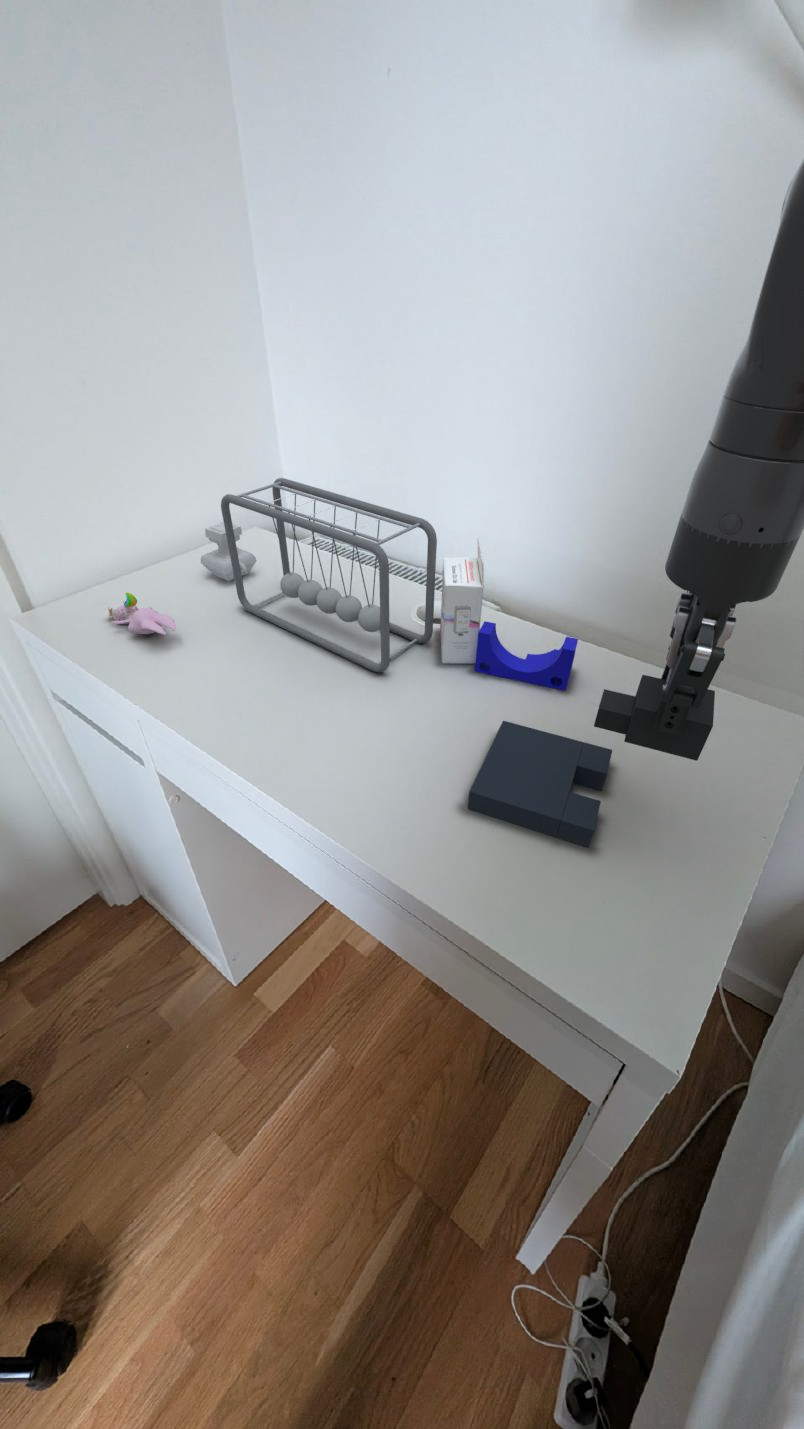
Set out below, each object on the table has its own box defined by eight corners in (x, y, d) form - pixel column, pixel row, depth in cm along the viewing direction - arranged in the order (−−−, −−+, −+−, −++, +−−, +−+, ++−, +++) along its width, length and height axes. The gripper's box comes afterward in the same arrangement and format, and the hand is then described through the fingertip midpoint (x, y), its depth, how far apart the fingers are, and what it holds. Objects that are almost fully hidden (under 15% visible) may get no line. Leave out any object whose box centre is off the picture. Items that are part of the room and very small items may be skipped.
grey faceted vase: (199, 574, 99) (187, 526, 94) (230, 562, 103) (221, 515, 98) (232, 589, 95) (223, 540, 90) (263, 576, 99) (256, 527, 94)
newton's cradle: (433, 645, 82) (439, 522, 71) (386, 679, 75) (384, 548, 64) (288, 584, 96) (274, 474, 85) (238, 608, 90) (216, 492, 79)
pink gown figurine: (103, 631, 87) (154, 652, 78) (87, 594, 84) (137, 611, 75) (141, 615, 91) (193, 634, 82) (127, 579, 87) (180, 594, 78)
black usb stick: (700, 725, 52) (715, 690, 50) (697, 761, 49) (713, 725, 46) (600, 701, 55) (610, 667, 53) (591, 733, 52) (601, 698, 49)
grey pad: (607, 766, 63) (612, 749, 61) (588, 847, 54) (594, 830, 53) (500, 737, 67) (503, 720, 65) (467, 808, 58) (469, 791, 56)
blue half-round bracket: (570, 672, 77) (579, 633, 73) (565, 690, 74) (574, 651, 70) (483, 654, 80) (487, 615, 76) (474, 671, 77) (478, 632, 73)
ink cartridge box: (438, 631, 85) (443, 534, 76) (471, 632, 85) (481, 534, 76) (440, 664, 78) (446, 562, 69) (477, 665, 78) (487, 562, 69)
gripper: (814, 568, 33) (712, 778, 44) (794, 493, 43) (715, 679, 54) (675, 546, 35) (610, 751, 46) (688, 480, 46) (632, 660, 56)
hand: (667, 711), depth 50 cm, fingers closed on black usb stick, 5 cm apart
